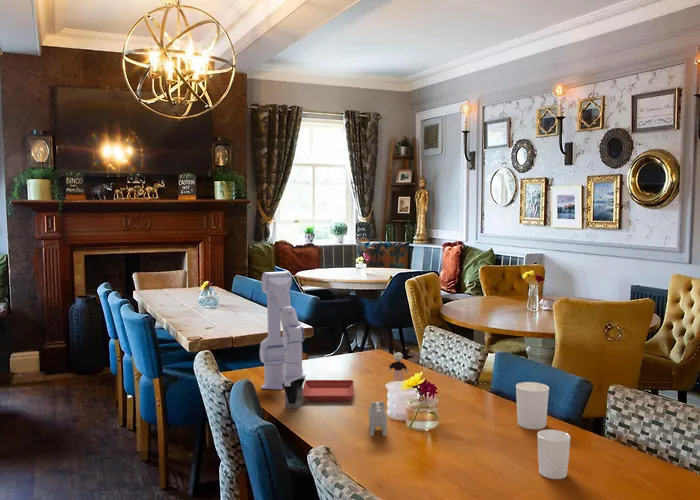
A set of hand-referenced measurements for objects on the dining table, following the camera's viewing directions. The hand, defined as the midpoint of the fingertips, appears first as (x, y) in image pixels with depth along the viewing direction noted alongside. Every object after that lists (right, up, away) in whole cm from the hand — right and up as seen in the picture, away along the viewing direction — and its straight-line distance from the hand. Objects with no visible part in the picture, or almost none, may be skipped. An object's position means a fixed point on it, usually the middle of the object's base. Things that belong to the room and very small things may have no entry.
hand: (294, 401), depth 212 cm
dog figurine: (+27, -4, -24) cm, 37 cm away
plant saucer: (+11, -1, +12) cm, 17 cm away
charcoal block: (0, -2, 0) cm, 2 cm away
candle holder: (+75, -3, -19) cm, 77 cm away
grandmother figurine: (+37, 0, +23) cm, 43 cm away
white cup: (+70, -6, -53) cm, 88 cm away
